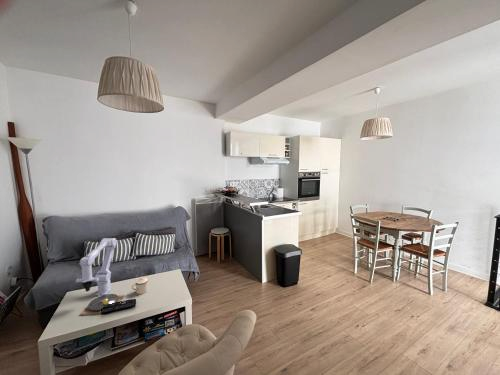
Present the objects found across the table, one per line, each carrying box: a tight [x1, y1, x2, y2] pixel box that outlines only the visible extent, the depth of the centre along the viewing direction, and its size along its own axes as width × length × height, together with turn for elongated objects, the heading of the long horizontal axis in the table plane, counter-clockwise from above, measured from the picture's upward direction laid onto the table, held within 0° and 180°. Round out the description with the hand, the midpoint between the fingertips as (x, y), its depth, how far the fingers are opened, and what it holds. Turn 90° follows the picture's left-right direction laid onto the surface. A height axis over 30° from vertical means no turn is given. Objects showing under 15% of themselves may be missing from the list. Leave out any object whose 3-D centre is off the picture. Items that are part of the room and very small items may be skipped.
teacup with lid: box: [131, 277, 149, 295], centre depth 169 cm, size 12×9×12 cm
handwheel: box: [87, 293, 118, 311], centre depth 152 cm, size 18×18×6 cm
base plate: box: [79, 294, 126, 317], centre depth 152 cm, size 20×20×1 cm
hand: (88, 290), depth 153 cm, fingers closed
